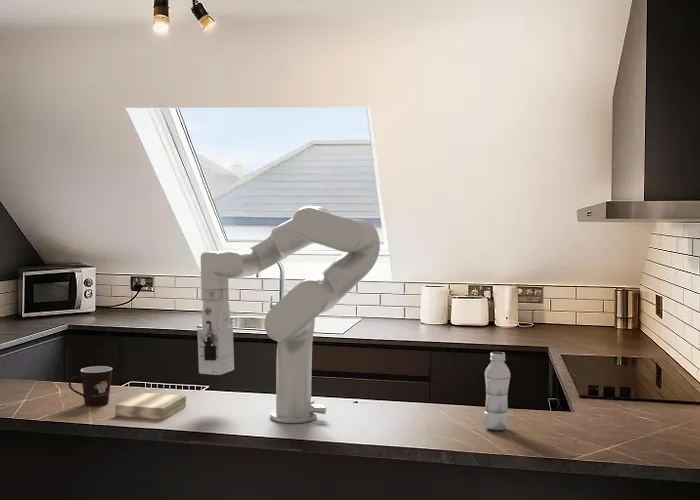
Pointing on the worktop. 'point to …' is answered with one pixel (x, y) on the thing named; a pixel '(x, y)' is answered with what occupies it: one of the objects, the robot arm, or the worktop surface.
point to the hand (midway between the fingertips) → (216, 357)
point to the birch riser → (150, 405)
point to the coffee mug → (95, 385)
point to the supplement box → (217, 353)
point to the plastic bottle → (496, 393)
